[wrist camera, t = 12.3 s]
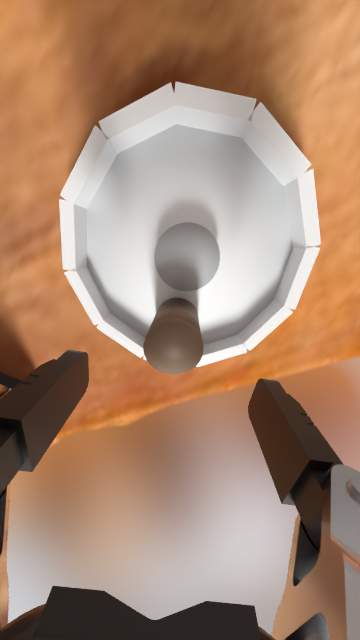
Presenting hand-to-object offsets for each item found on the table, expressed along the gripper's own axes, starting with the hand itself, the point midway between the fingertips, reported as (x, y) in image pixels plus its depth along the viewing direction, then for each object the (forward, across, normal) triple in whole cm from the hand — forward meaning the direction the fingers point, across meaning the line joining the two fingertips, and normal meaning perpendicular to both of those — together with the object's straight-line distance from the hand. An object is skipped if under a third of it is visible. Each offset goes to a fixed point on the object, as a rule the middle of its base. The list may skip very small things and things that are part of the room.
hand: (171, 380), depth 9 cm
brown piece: (+10, 0, +1) cm, 10 cm away
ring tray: (+10, 0, -5) cm, 11 cm away
